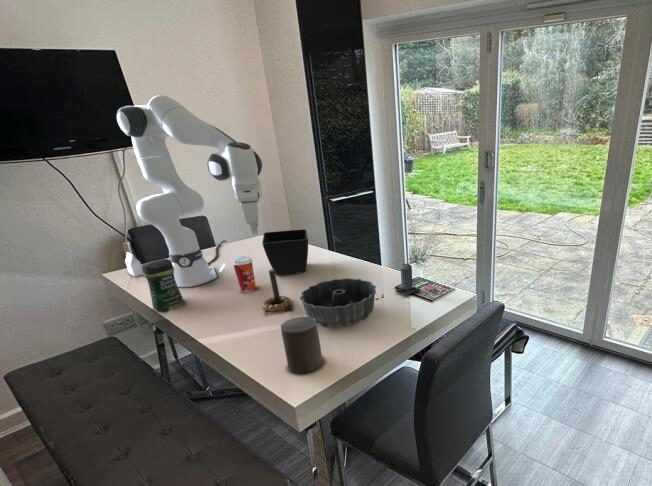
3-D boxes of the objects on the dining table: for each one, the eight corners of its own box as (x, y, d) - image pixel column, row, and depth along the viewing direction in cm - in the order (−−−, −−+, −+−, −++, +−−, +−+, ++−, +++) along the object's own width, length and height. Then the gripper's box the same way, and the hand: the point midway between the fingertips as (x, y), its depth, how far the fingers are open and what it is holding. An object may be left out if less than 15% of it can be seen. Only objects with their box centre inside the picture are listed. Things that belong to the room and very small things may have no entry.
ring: (260, 304, 155) (259, 299, 154) (288, 298, 160) (287, 293, 159) (265, 314, 147) (264, 308, 146) (293, 308, 152) (292, 302, 151)
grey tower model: (407, 287, 172) (405, 260, 167) (421, 291, 168) (420, 264, 163) (392, 294, 165) (390, 266, 160) (407, 299, 161) (405, 270, 156)
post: (266, 305, 157) (258, 268, 151) (290, 301, 161) (283, 264, 155) (266, 314, 150) (258, 276, 144) (292, 310, 153) (285, 272, 147)
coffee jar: (161, 313, 152) (146, 266, 144) (150, 308, 156) (135, 263, 148) (187, 303, 159) (174, 259, 152) (177, 299, 163) (163, 255, 156)
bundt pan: (318, 300, 161) (314, 277, 157) (384, 300, 160) (382, 277, 156) (292, 334, 137) (287, 307, 133) (370, 334, 136) (367, 307, 132)
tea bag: (134, 276, 187) (127, 255, 183) (129, 273, 190) (122, 253, 186) (144, 274, 189) (137, 253, 185) (138, 271, 193) (131, 250, 189)
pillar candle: (299, 378, 114) (290, 331, 108) (282, 365, 120) (273, 320, 114) (329, 363, 120) (322, 318, 114) (311, 351, 126) (304, 308, 120)
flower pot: (311, 260, 204) (306, 228, 197) (313, 273, 187) (308, 238, 181) (270, 265, 198) (263, 232, 191) (269, 279, 181) (262, 243, 175)
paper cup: (251, 294, 167) (243, 262, 161) (234, 293, 168) (226, 261, 162) (262, 287, 174) (256, 256, 168) (246, 285, 175) (239, 255, 169)
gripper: (239, 187, 149) (246, 224, 155) (236, 198, 132) (245, 239, 138) (257, 186, 152) (264, 222, 157) (257, 196, 135) (265, 237, 140)
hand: (255, 230), depth 148 cm, fingers open, 8 cm apart
